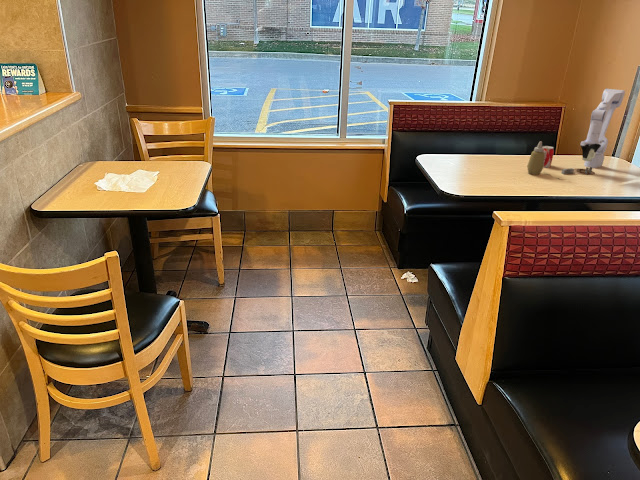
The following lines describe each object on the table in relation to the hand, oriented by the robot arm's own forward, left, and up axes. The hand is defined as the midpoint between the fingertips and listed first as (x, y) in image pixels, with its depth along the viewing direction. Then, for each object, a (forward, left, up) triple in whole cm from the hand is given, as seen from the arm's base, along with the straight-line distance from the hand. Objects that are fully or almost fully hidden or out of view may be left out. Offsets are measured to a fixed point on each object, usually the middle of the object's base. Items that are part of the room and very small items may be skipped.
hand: (587, 157), depth 255 cm
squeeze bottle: (+25, -11, -10) cm, 29 cm away
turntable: (+4, -1, -9) cm, 10 cm away
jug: (0, 0, -1) cm, 1 cm away
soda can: (+11, -17, -10) cm, 23 cm away
